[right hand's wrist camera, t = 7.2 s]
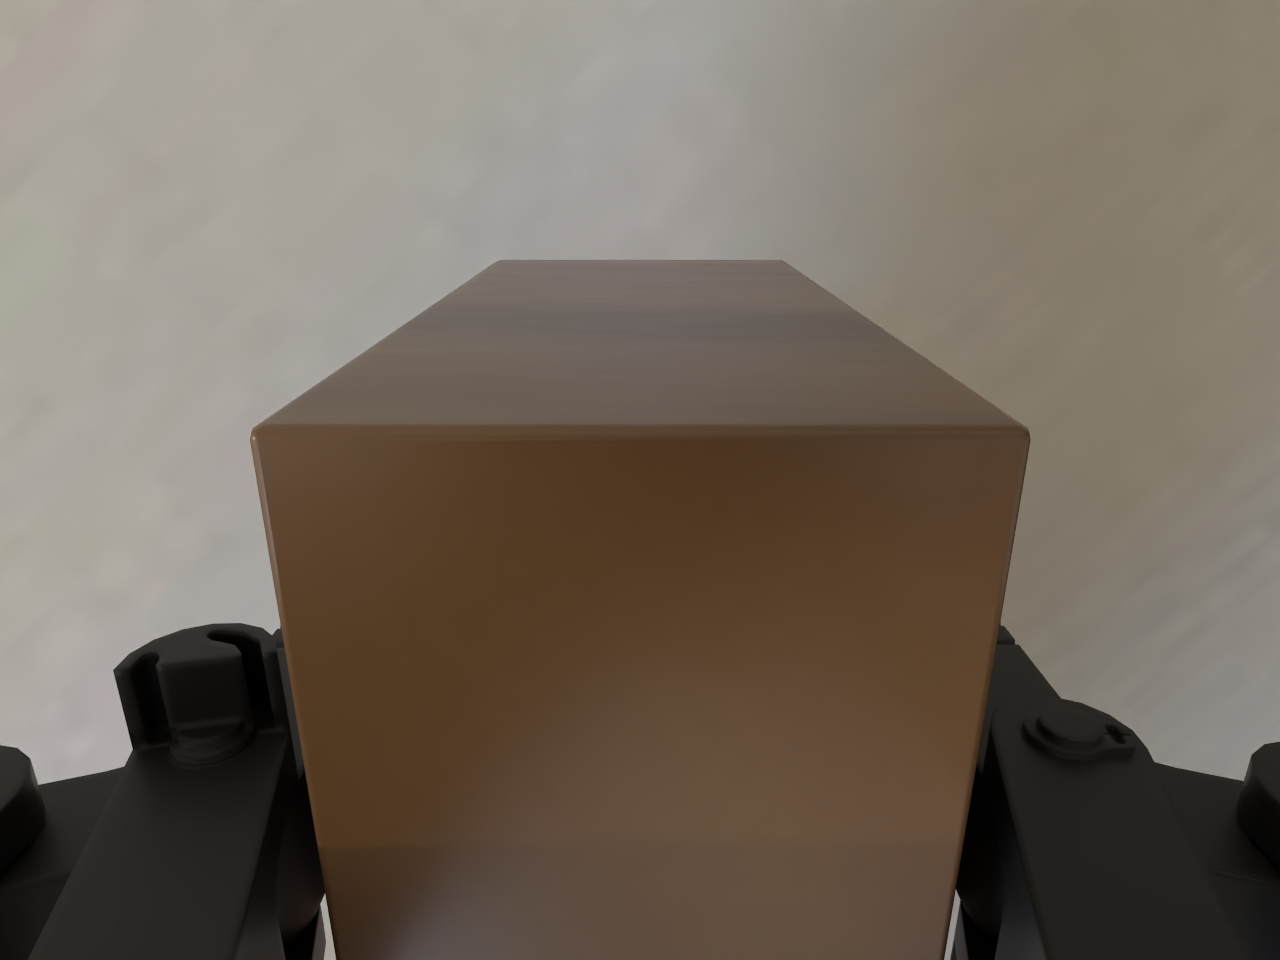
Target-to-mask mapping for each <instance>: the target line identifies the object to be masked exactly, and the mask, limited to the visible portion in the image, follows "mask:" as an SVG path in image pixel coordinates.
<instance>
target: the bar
mask: <svg viewBox="0 0 1280 960" xmlns="http://www.w3.org/2000/svg"><path fill="white" fill-rule="evenodd" d="M250 442H251V448H252V454H253V460H254V466H255V472H256V478H257V484H258V490H259V496H260V502H261V508H262V514H263V520H264V526H265V532H266V538H267V544H268V550H269V556H270V562H271V569H272V575H273V581H274V587H275V593H276V599H277V605H278V611H279V617H280V623H281V629H282V635H283V641H284V647H285V653H286V659H287V665H288V671H289V677H290V683H291V689H292V695H293V701H294V707H295V713H296V719H297V725H298V731H299V737H300V743H301V749H302V755H303V761H304V767H305V773H306V780H307V786H308V792H309V798H310V804H311V810H312V816H313V822H314V828H315V834H316V840H317V846H318V852H319V858H320V864H321V870H322V876H323V882H324V888H325V894H326V900H327V906H328V912H329V918H330V924H331V930H332V936H333V942H334V948H335V954H336V960H944V956H945V950H946V944H947V938H948V932H949V926H950V920H951V914H952V908H953V902H954V896H955V890H956V884H957V878H958V872H959V866H960V860H961V854H962V848H963V842H964V836H965V830H966V824H967V818H968V812H969V806H970V800H971V794H972V788H973V782H974V776H975V770H976V764H977V758H978V752H979V746H980V740H981V734H982V728H983V722H984V716H985V710H986V704H987V698H988V692H989V686H990V680H991V674H992V668H993V662H994V656H995V650H996V644H997V638H998V632H999V626H1000V620H1001V614H1002V607H1003V601H1004V595H1005V589H1006V583H1007V577H1008V571H1009V565H1010V559H1011V553H1012V547H1013V541H1014V535H1015V529H1016V523H1017V517H1018V511H1019V505H1020V499H1021V493H1022V487H1023V481H1024V475H1025V469H1026V463H1027V457H1028V451H1029V445H1030V435H1029V431H1028V428H1026V427H1025V426H1023V425H1022V424H1020V423H1019V422H1018V421H1016V420H1015V419H1013V418H1012V417H1010V416H1009V415H1007V414H1006V413H1004V412H1003V411H1001V410H1000V409H999V408H997V407H996V406H994V405H993V404H991V403H990V402H988V401H987V400H985V399H984V398H983V397H981V396H980V395H978V394H977V393H975V392H974V391H972V390H971V389H969V388H968V387H966V386H965V385H964V384H962V383H961V382H959V381H958V380H956V379H955V378H953V377H952V376H950V375H949V374H948V373H946V372H945V371H943V370H942V369H940V368H939V367H937V366H936V365H934V364H933V363H931V362H930V361H929V360H927V359H926V358H924V357H923V356H921V355H920V354H918V353H917V352H915V351H914V350H913V349H911V348H910V347H908V346H907V345H905V344H904V343H902V342H901V341H899V340H898V339H897V338H895V337H894V336H892V335H891V334H889V333H888V332H886V331H885V330H883V329H882V328H880V327H879V326H878V325H876V324H875V323H873V322H872V321H870V320H869V319H867V318H866V317H864V316H863V315H862V314H860V313H859V312H857V311H856V310H854V309H853V308H851V307H850V306H848V305H847V304H845V303H844V302H843V301H841V300H840V299H838V298H837V297H835V296H834V295H832V294H831V293H829V292H828V291H827V290H825V289H824V288H822V287H821V286H819V285H818V284H816V283H815V282H813V281H812V280H810V279H809V278H808V277H806V276H805V275H803V274H802V273H800V272H799V271H797V270H796V269H794V268H793V267H792V266H790V265H789V264H787V263H786V262H784V261H782V260H499V261H497V262H495V263H494V264H492V265H491V266H489V267H488V268H486V269H485V270H484V271H482V272H481V273H479V274H478V275H476V276H475V277H473V278H472V279H470V280H469V281H467V282H466V283H465V284H463V285H462V286H460V287H459V288H457V289H456V290H454V291H453V292H451V293H450V294H448V295H447V296H446V297H444V298H443V299H441V300H440V301H438V302H437V303H435V304H434V305H432V306H431V307H429V308H428V309H426V310H425V311H424V312H422V313H421V314H419V315H418V316H416V317H415V318H413V319H412V320H410V321H409V322H407V323H406V324H405V325H403V326H402V327H400V328H399V329H397V330H396V331H394V332H393V333H391V334H390V335H388V336H387V337H386V338H384V339H383V340H381V341H380V342H378V343H377V344H375V345H374V346H372V347H371V348H369V349H368V350H367V351H365V352H364V353H362V354H361V355H359V356H358V357H356V358H355V359H353V360H352V361H350V362H349V363H347V364H346V365H345V366H343V367H342V368H340V369H339V370H337V371H336V372H334V373H333V374H331V375H330V376H328V377H327V378H326V379H324V380H323V381H321V382H320V383H318V384H317V385H315V386H314V387H312V388H311V389H309V390H308V391H307V392H305V393H304V394H302V395H301V396H299V397H298V398H296V399H295V400H293V401H292V402H290V403H289V404H288V405H286V406H285V407H283V408H282V409H280V410H279V411H277V412H276V413H274V414H273V415H271V416H270V417H268V418H267V419H266V420H264V421H263V422H261V423H260V424H258V425H257V426H255V427H254V428H253V429H252V432H251V437H250Z"/></svg>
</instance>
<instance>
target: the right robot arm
mask: <svg viewBox="0 0 1280 960" xmlns="http://www.w3.org/2000/svg"><path fill="white" fill-rule="evenodd" d="M113 671H114V675H115V679H116V683H117V687H118V691H119V695H120V699H121V703H122V707H123V711H124V715H125V719H126V723H127V727H128V731H129V735H130V739H131V743H132V747H133V751H132V753H131V755H130V757H129V759H128V761H127V763H126V765H125V767H121V768H118V769H114V770H110V771H106V772H101V773H96V774H91V775H86V776H81V777H76V778H71V779H66V780H61V781H56V782H51V783H46V784H41V785H38V783H37V780H36V776H35V773H34V770H33V766H32V763H31V760H30V758H29V757H27V756H26V755H25V754H24V753H23V752H21V751H20V750H19V749H18V748H13V747H7V746H1V745H0V960H324V952H325V945H326V939H325V932H324V924H323V918H322V912H321V906H320V903H321V901H322V899H323V896H324V894H325V888H324V882H323V876H322V870H321V864H320V858H319V852H318V846H317V840H316V834H315V828H314V822H313V816H312V810H311V804H310V798H309V792H308V786H307V780H306V773H305V767H304V761H303V755H302V749H301V743H300V737H299V731H298V725H297V719H296V713H295V707H294V701H293V695H292V689H291V683H290V677H289V671H288V665H287V659H286V653H285V647H284V641H283V635H282V629H277V630H276V631H275V633H274V634H273V635H271V634H269V633H268V632H267V631H265V630H264V629H263V628H260V627H255V626H251V625H246V624H242V623H228V624H209V625H204V626H199V627H194V628H188V629H183V630H180V631H177V632H175V633H172V634H169V635H166V636H163V637H161V638H158V639H155V640H153V641H151V642H149V643H148V644H146V645H144V646H142V647H141V648H139V649H137V650H135V651H134V652H132V653H130V654H129V655H128V656H127V657H126V658H125V659H124V660H123V661H122V662H121V663H120V664H119V665H118V666H117V667H116V668H115V669H114V670H113ZM956 890H957V893H958V895H959V897H960V899H961V900H960V906H959V912H958V918H957V924H956V930H955V935H954V941H953V947H952V953H951V959H950V960H1280V742H1275V743H1269V744H1264V745H1263V746H1262V747H1261V748H1259V749H1258V750H1257V751H1256V752H1255V753H1253V754H1252V756H1251V759H1250V763H1249V766H1248V769H1247V773H1246V776H1245V779H1244V781H1239V780H1234V779H1229V778H1224V777H1219V776H1214V775H1209V774H1204V773H1199V772H1194V771H1189V770H1184V769H1179V768H1174V767H1171V766H1167V765H1163V764H1159V763H1155V762H1154V761H1153V759H1152V757H1151V755H1150V753H1149V751H1148V749H1147V748H1146V746H1145V745H1144V744H1143V743H1142V741H1141V740H1140V739H1139V738H1138V737H1137V735H1136V734H1135V733H1134V732H1133V731H1132V730H1131V729H1130V728H1128V727H1127V726H1125V725H1124V724H1122V723H1121V722H1119V721H1118V720H1116V719H1115V718H1113V717H1112V716H1110V715H1109V714H1106V713H1104V712H1101V711H1099V710H1097V709H1094V708H1092V707H1089V706H1087V705H1085V704H1082V703H1079V702H1074V701H1070V700H1065V699H1061V698H1060V697H1059V696H1058V694H1057V693H1056V692H1055V690H1054V689H1053V688H1052V687H1051V685H1050V684H1049V683H1048V682H1047V680H1046V679H1045V678H1044V676H1043V675H1042V674H1041V673H1040V671H1039V670H1038V669H1037V668H1036V666H1035V665H1034V664H1033V662H1032V661H1031V660H1030V659H1029V657H1028V656H1027V655H1026V654H1025V652H1024V651H1023V650H1022V648H1021V647H1020V646H1019V645H1015V639H1014V638H1013V637H1012V636H1011V634H1010V633H1009V632H1008V631H1007V629H1006V628H1005V627H1004V626H1001V625H1000V626H999V632H998V638H997V644H996V650H995V656H994V662H993V668H992V674H991V680H990V686H989V692H988V698H987V704H986V710H985V716H984V722H983V728H982V734H981V740H980V746H979V752H978V758H977V764H976V770H975V776H974V782H973V788H972V794H971V800H970V806H969V812H968V818H967V824H966V830H965V836H964V842H963V848H962V854H961V860H960V866H959V872H958V878H957V884H956Z"/></svg>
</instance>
